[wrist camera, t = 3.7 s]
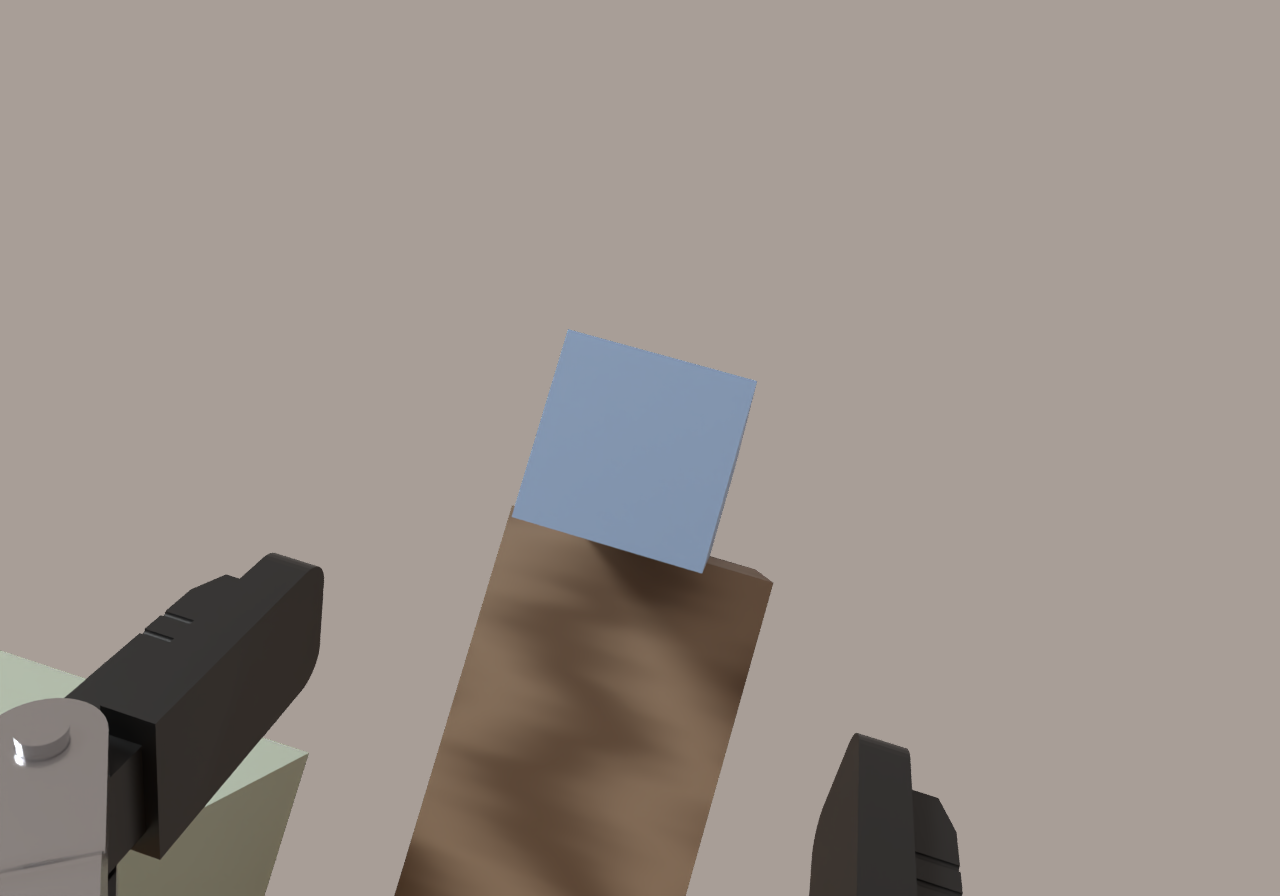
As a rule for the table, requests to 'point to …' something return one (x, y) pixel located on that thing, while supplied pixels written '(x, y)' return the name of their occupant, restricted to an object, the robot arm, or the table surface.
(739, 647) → the walnut stand
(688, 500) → the blue block
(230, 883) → the pale green tall block
